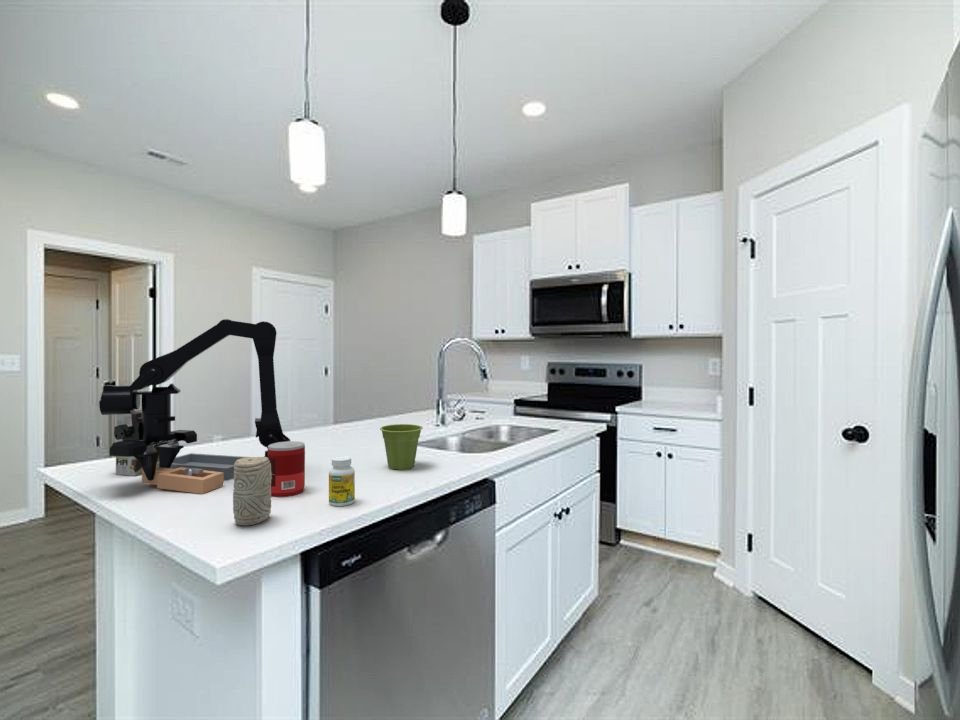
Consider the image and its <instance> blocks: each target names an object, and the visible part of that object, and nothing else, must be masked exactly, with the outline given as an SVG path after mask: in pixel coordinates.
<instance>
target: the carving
mask: <svg viewBox="0 0 960 720" xmlns="http://www.w3.org/2000/svg"><path fill="white" fill-rule="evenodd" d="M251 457H252V458H242V459H238V460H237V461H236V462H235V463H234V469H235V470H234V478H233V489H232V490H233V491H232V505H233V507H232V511H233V512H232V513H233V519H234V522H235V523H236V525H238V526H254V525H257V524H260V523H262V522H263V521H265V520H266V519H268V518H269V517H270V514H271V513H272V510H271V509H272V499H271V498H272V496H271V480H272V473H271V463H270V461H269V459H268V458H267V457H264V456H256V457H255V456H251Z"/></svg>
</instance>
